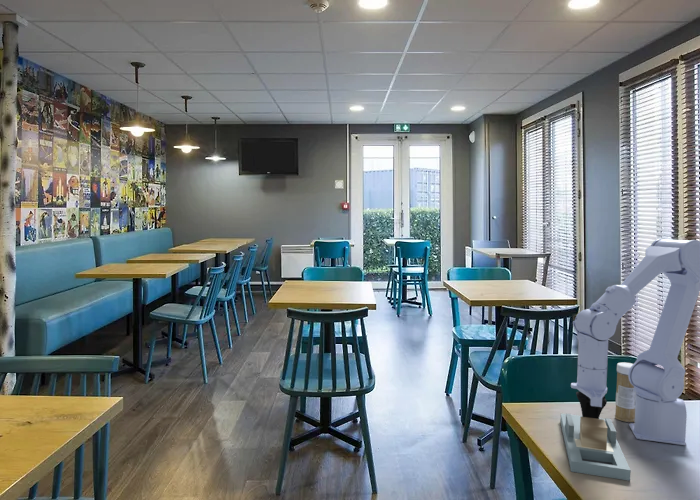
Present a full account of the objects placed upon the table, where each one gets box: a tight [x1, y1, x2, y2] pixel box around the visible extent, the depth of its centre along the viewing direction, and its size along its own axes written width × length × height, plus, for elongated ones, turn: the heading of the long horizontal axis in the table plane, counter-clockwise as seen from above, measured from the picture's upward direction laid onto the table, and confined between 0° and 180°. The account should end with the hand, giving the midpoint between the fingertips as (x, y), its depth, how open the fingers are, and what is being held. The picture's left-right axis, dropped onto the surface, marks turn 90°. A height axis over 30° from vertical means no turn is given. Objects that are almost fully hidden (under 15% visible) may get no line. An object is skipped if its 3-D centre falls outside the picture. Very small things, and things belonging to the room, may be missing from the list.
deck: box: [560, 412, 631, 481], centre depth 105 cm, size 10×25×4 cm, turn 162°
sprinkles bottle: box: [614, 361, 636, 423], centre depth 121 cm, size 5×5×13 cm
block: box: [580, 417, 607, 450], centre depth 103 cm, size 4×4×4 cm
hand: (589, 427), depth 109 cm, fingers closed
